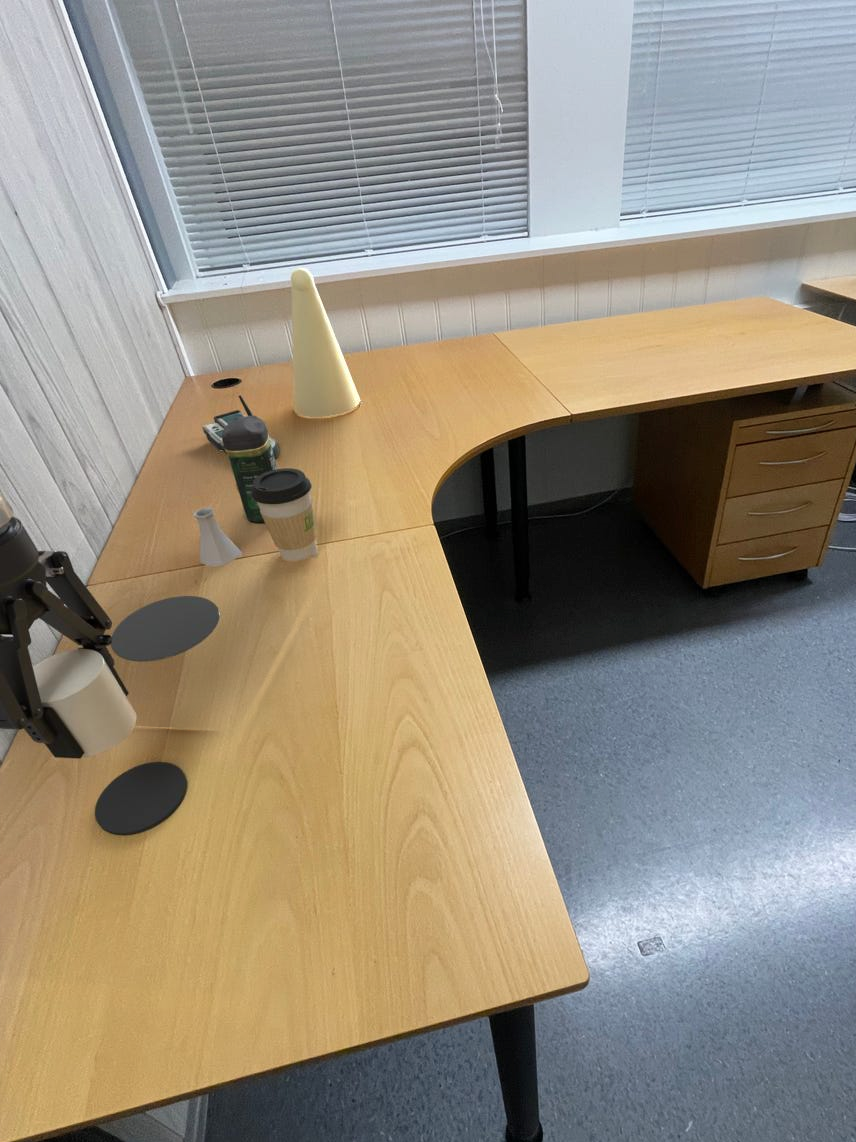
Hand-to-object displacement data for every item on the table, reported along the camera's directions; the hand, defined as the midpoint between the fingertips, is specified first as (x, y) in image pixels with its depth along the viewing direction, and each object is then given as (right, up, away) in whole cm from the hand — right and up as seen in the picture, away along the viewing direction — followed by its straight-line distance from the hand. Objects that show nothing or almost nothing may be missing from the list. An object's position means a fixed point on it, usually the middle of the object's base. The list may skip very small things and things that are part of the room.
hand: (93, 723), depth 65 cm
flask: (-6, +23, +48) cm, 53 cm away
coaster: (+1, -10, +8) cm, 13 cm away
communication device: (-16, +55, +86) cm, 103 cm away
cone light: (-1, +71, +104) cm, 125 cm away
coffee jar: (-3, +34, +61) cm, 70 cm away
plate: (-8, +10, +32) cm, 35 cm away
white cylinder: (0, -1, +1) cm, 1 cm away
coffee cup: (+8, +24, +48) cm, 54 cm away
